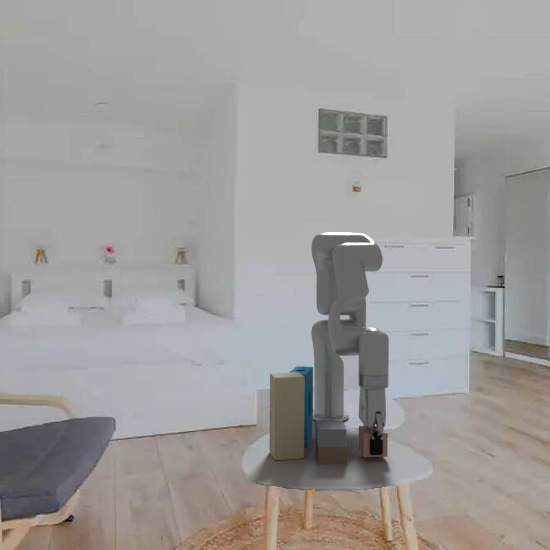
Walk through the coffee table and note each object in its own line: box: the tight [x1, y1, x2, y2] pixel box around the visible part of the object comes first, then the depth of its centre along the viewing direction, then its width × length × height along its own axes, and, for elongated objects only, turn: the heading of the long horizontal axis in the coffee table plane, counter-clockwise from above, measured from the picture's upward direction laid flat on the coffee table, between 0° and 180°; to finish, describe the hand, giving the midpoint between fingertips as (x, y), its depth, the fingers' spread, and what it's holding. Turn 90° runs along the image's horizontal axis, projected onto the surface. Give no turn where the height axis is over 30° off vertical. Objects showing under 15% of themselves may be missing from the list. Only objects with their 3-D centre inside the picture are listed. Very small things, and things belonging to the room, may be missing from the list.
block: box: [288, 365, 314, 448], centre depth 150 cm, size 12×5×20 cm, turn 165°
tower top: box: [315, 420, 347, 447], centre depth 137 cm, size 7×7×4 cm
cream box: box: [268, 372, 305, 461], centre depth 140 cm, size 8×7×21 cm
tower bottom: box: [315, 439, 348, 466], centre depth 137 cm, size 7×7×4 cm
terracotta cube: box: [358, 425, 389, 458], centre depth 138 cm, size 6×6×6 cm
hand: (372, 449), depth 138 cm, fingers closed on terracotta cube, 6 cm apart
